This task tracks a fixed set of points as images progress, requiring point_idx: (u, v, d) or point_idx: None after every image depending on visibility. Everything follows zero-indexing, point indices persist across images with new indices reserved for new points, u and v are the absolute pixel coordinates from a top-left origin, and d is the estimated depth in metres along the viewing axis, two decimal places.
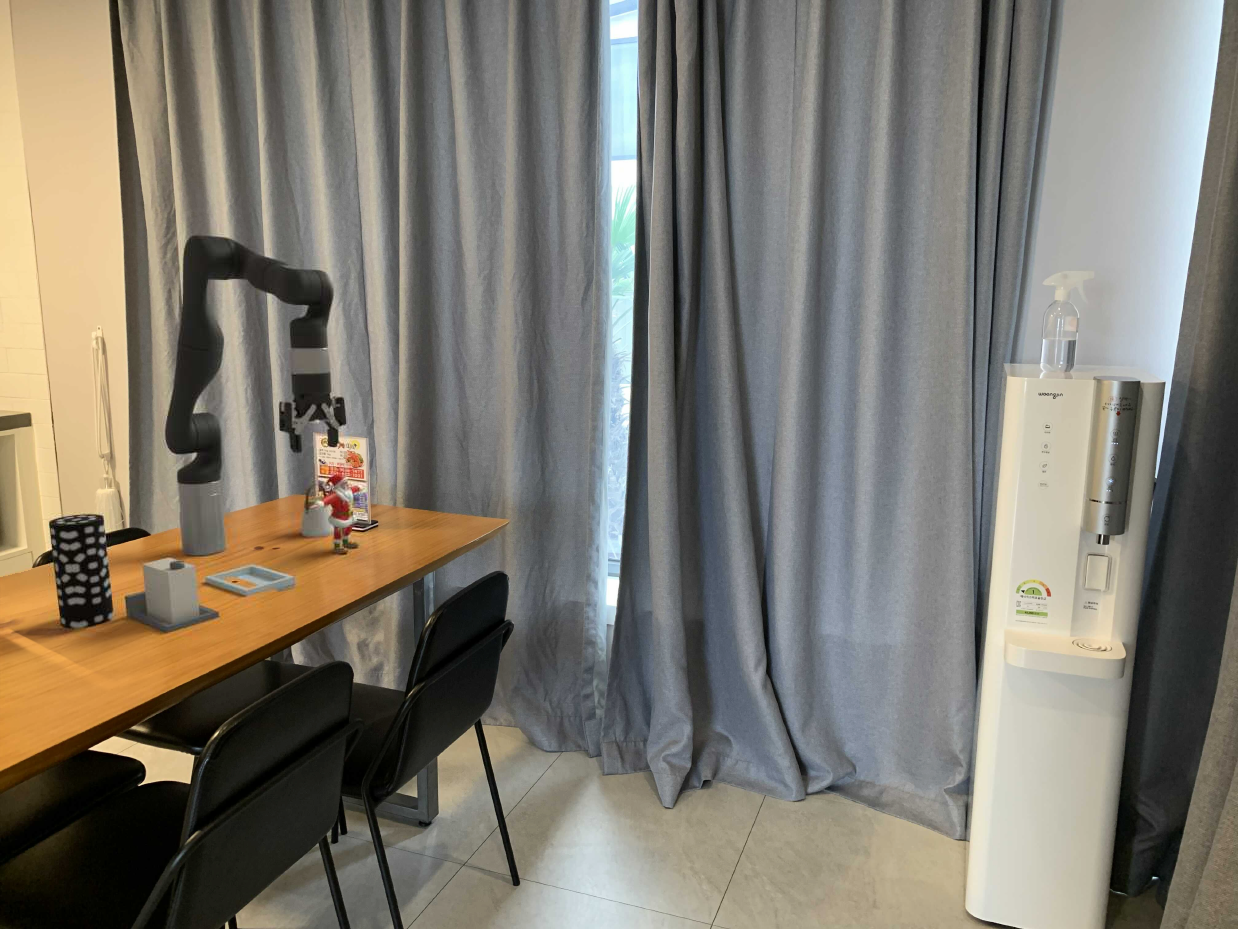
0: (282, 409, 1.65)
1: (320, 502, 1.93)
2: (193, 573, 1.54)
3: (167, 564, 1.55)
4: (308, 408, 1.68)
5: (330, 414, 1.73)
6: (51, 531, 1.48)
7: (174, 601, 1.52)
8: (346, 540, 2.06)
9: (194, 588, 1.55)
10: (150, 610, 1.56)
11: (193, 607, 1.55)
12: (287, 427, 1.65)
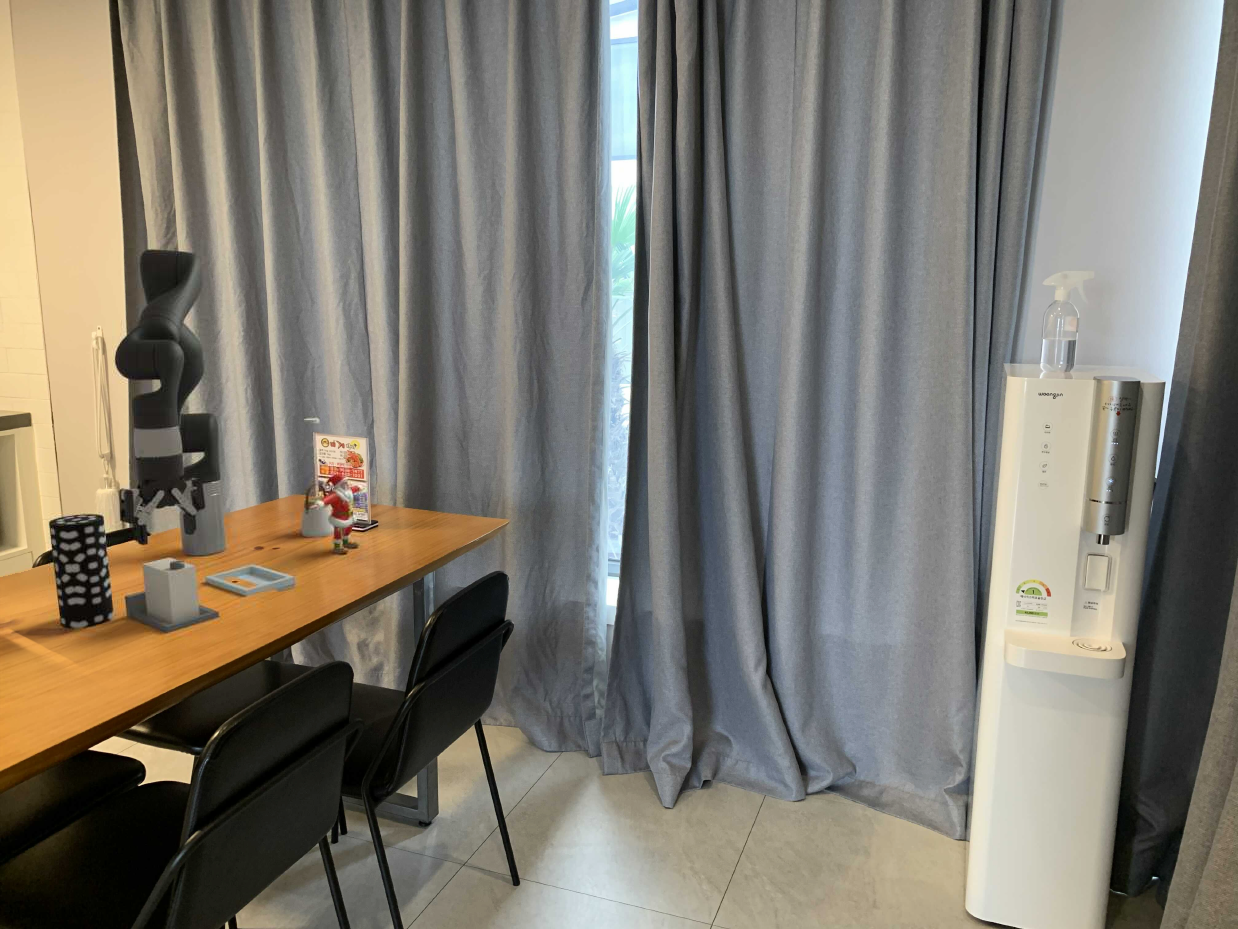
0: (122, 498, 1.47)
1: (320, 502, 1.93)
2: (193, 573, 1.54)
3: (167, 564, 1.55)
4: (154, 495, 1.50)
5: (184, 499, 1.54)
6: (51, 531, 1.48)
7: (174, 601, 1.52)
8: (346, 540, 2.06)
9: (194, 588, 1.55)
10: (150, 610, 1.56)
11: (193, 607, 1.55)
12: (128, 518, 1.47)
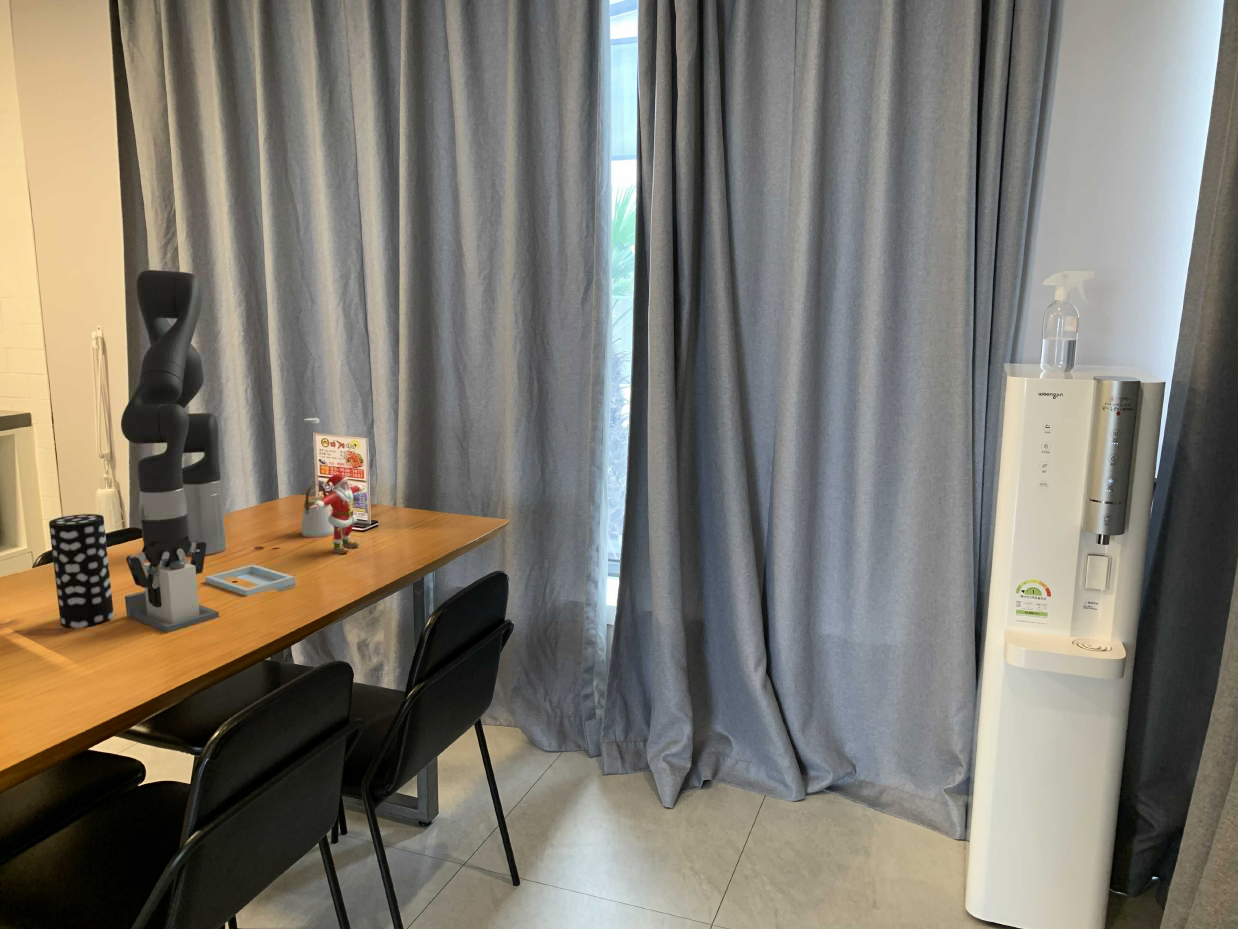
0: (131, 566, 1.49)
1: (320, 502, 1.93)
2: (194, 573, 1.54)
3: None
4: (160, 557, 1.52)
5: (185, 561, 1.56)
6: (51, 531, 1.48)
7: (174, 601, 1.52)
8: (346, 540, 2.06)
9: (194, 588, 1.55)
10: (150, 610, 1.56)
11: (193, 607, 1.55)
12: (142, 582, 1.50)
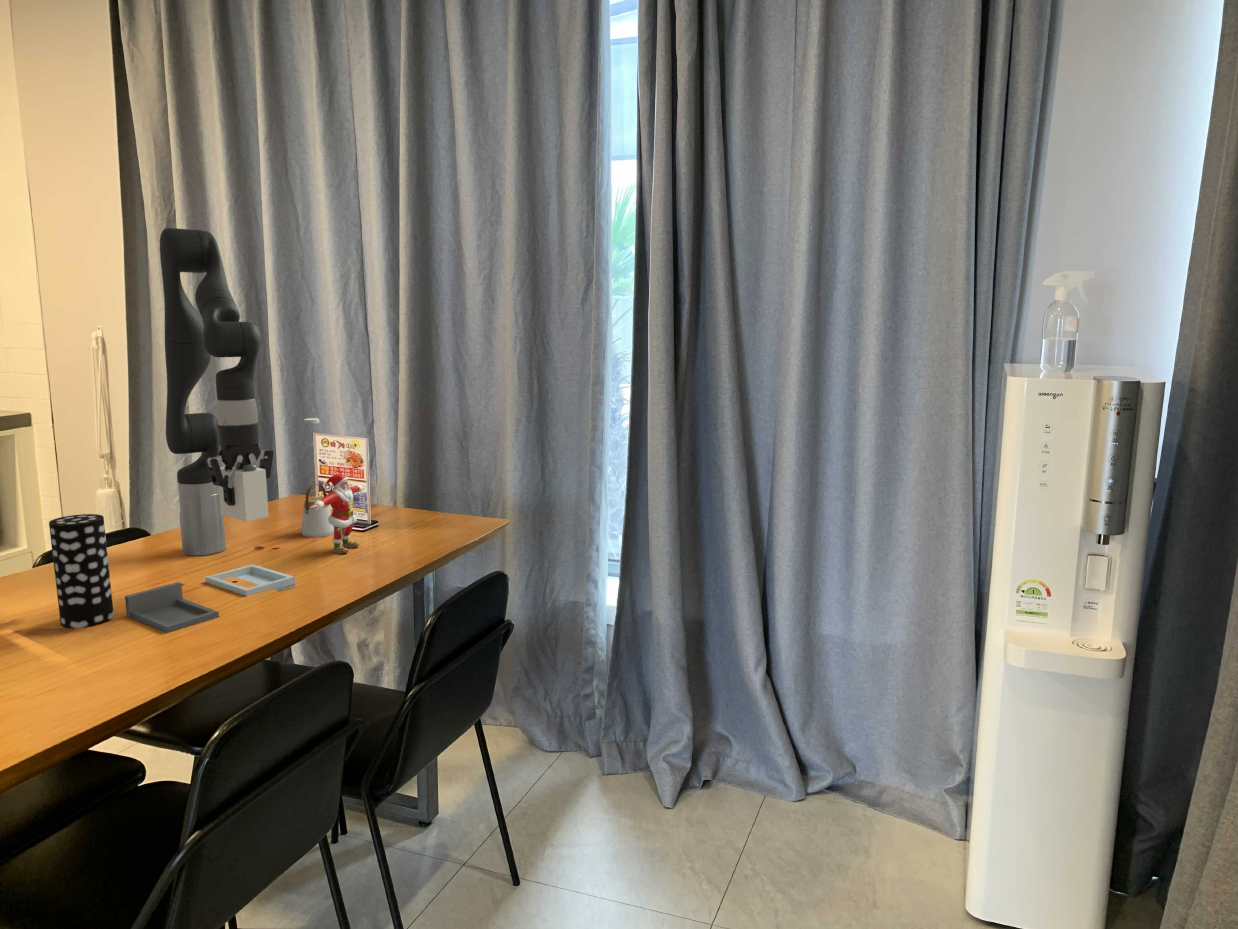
0: (210, 466, 1.67)
1: (320, 502, 1.93)
2: (264, 475, 1.72)
3: None
4: (235, 460, 1.70)
5: (256, 466, 1.73)
6: (51, 531, 1.48)
7: (247, 499, 1.69)
8: (346, 540, 2.06)
9: (264, 489, 1.72)
10: (224, 510, 1.74)
11: (263, 506, 1.73)
12: (220, 481, 1.68)
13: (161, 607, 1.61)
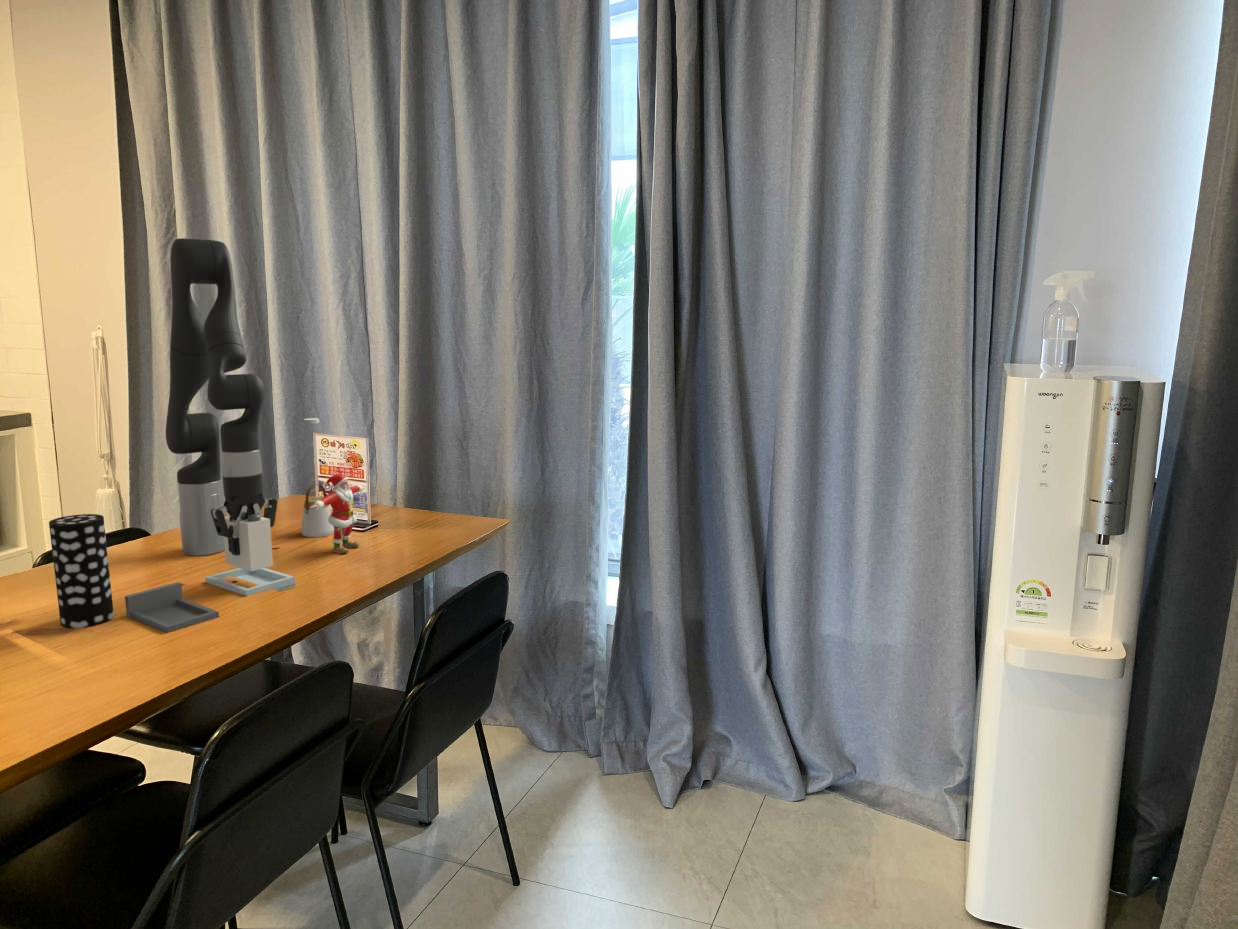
0: (215, 517, 1.69)
1: (320, 502, 1.93)
2: (268, 525, 1.74)
3: None
4: (240, 510, 1.71)
5: None
6: (51, 531, 1.48)
7: (252, 549, 1.71)
8: (346, 540, 2.06)
9: (268, 539, 1.74)
10: (229, 559, 1.76)
11: (268, 556, 1.74)
12: (225, 532, 1.70)
13: (161, 607, 1.61)
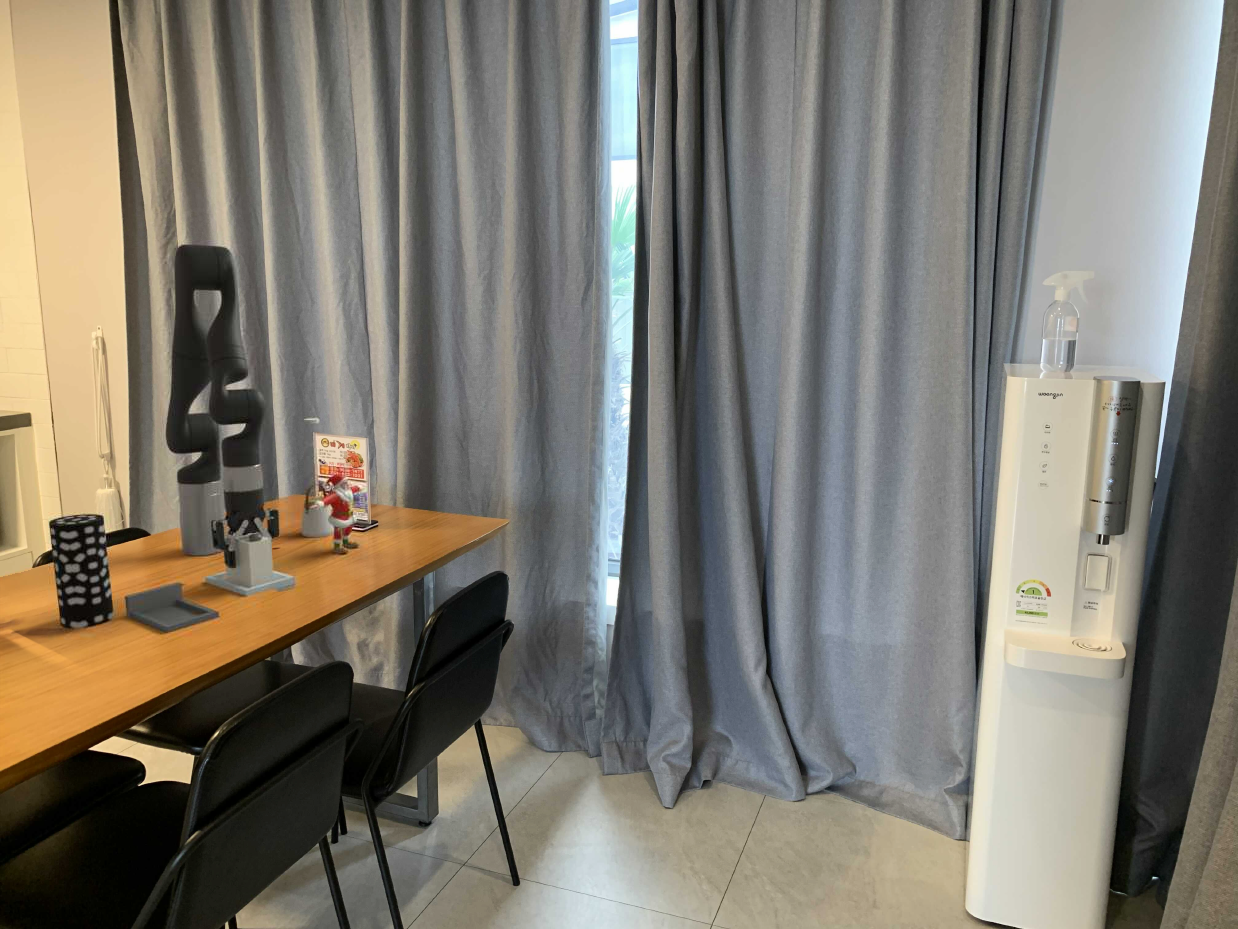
0: (214, 529, 1.69)
1: (320, 502, 1.93)
2: (269, 545, 1.75)
3: (245, 537, 1.76)
4: (240, 524, 1.72)
5: (263, 527, 1.76)
6: (51, 531, 1.48)
7: (253, 569, 1.72)
8: (346, 540, 2.06)
9: (269, 558, 1.75)
10: (230, 578, 1.76)
11: (268, 575, 1.75)
12: (220, 545, 1.69)
13: (161, 607, 1.61)
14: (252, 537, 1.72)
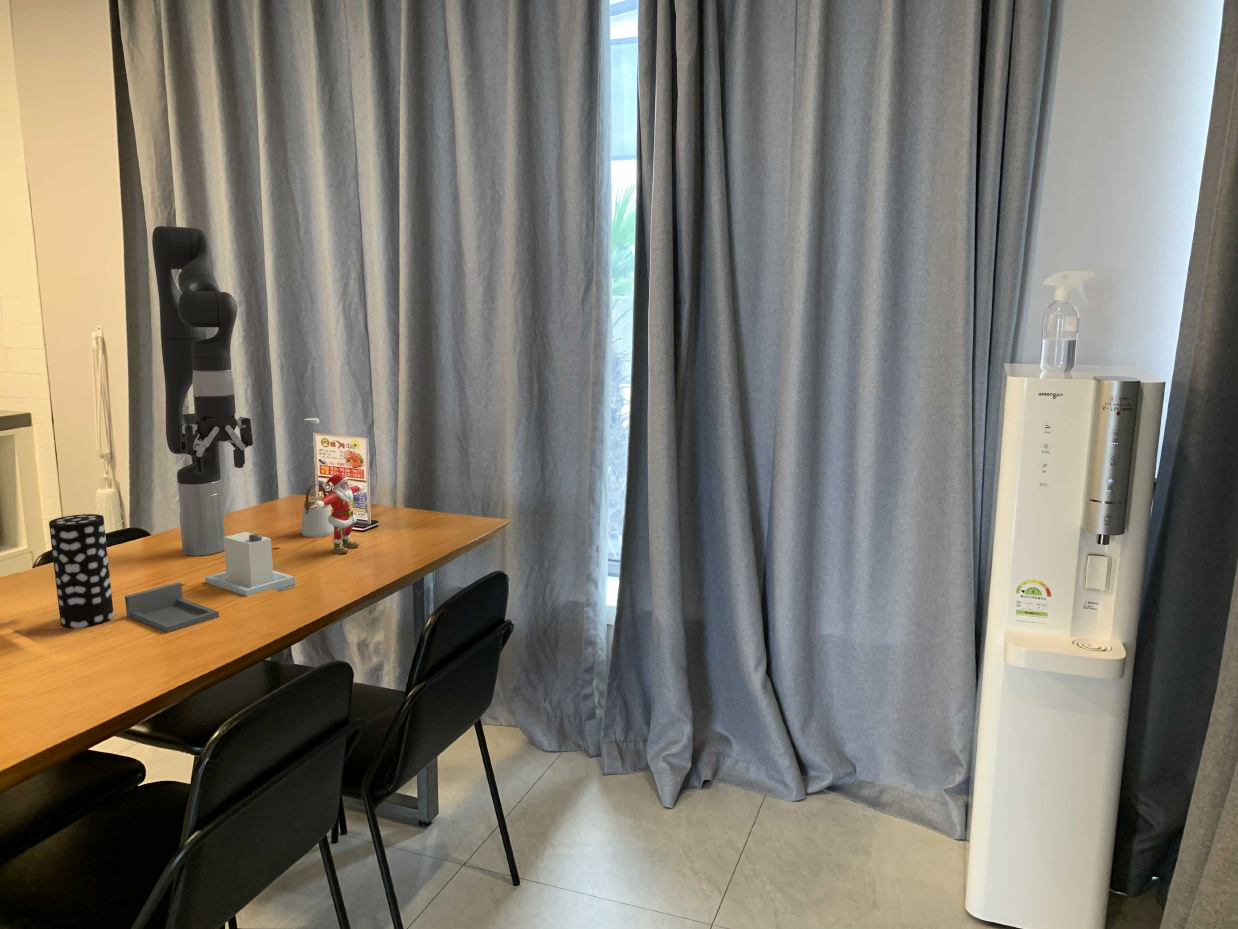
0: (183, 432, 1.65)
1: (320, 502, 1.93)
2: (269, 545, 1.75)
3: (245, 537, 1.76)
4: (210, 430, 1.68)
5: (235, 435, 1.73)
6: (51, 531, 1.48)
7: (253, 569, 1.72)
8: (346, 540, 2.06)
9: (269, 558, 1.75)
10: (230, 578, 1.76)
11: (268, 575, 1.75)
12: (188, 450, 1.65)
13: (161, 607, 1.61)
14: (252, 537, 1.72)
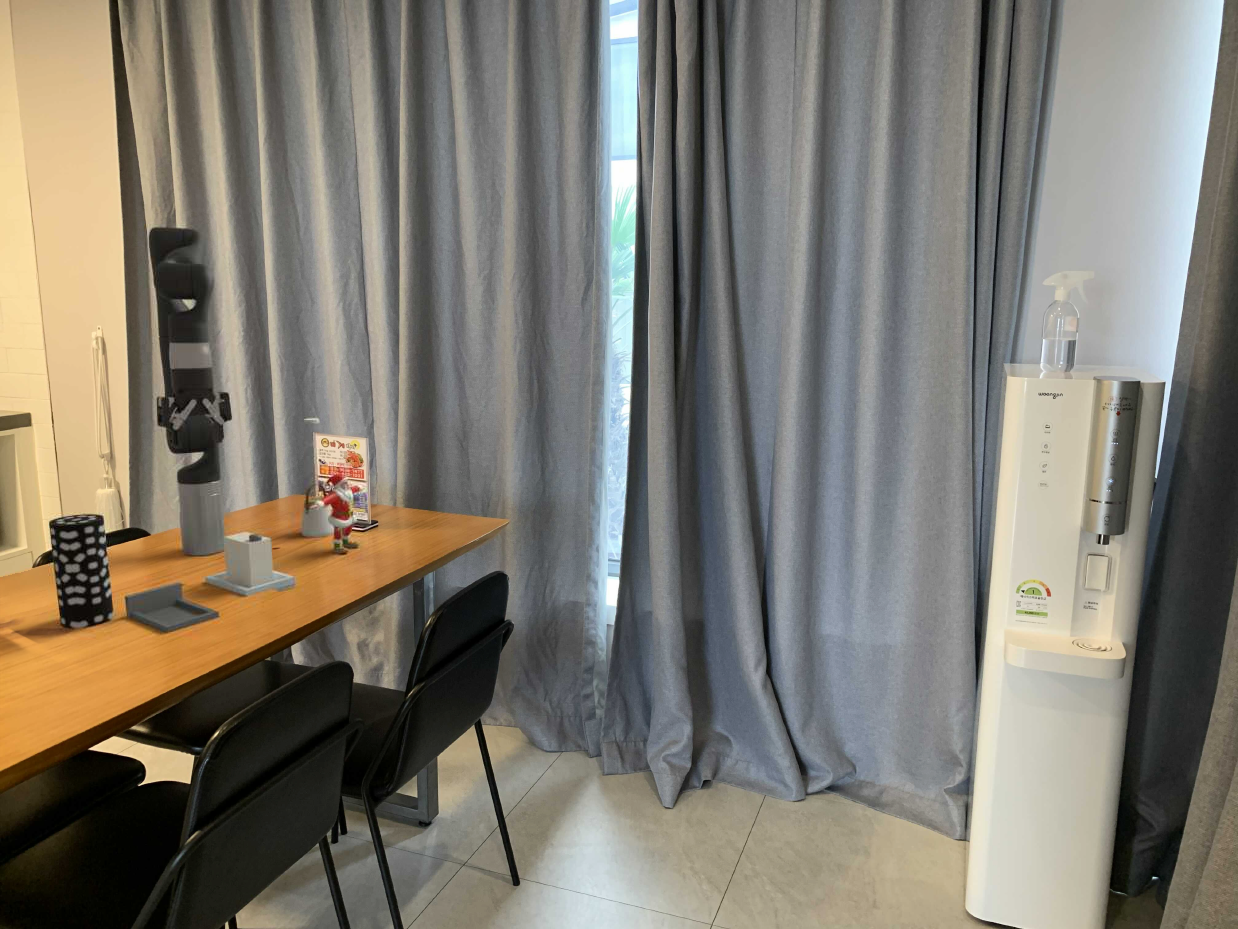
0: (159, 404, 1.64)
1: (320, 502, 1.93)
2: (269, 545, 1.75)
3: (245, 537, 1.76)
4: (188, 403, 1.67)
5: (213, 409, 1.72)
6: (51, 531, 1.48)
7: (253, 569, 1.72)
8: (346, 540, 2.06)
9: (269, 558, 1.75)
10: (230, 578, 1.76)
11: (268, 575, 1.75)
12: (164, 422, 1.64)
13: (161, 607, 1.61)
14: (252, 537, 1.72)
